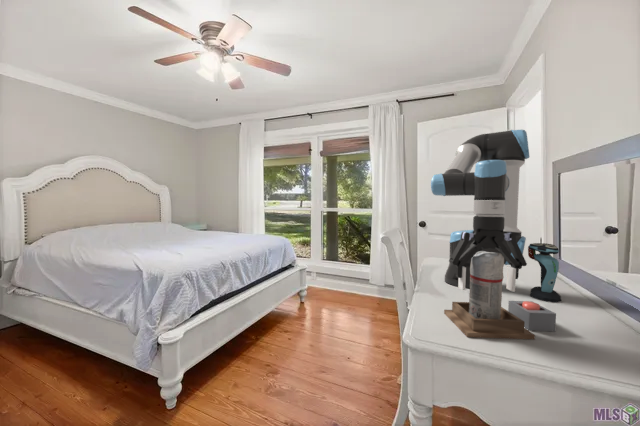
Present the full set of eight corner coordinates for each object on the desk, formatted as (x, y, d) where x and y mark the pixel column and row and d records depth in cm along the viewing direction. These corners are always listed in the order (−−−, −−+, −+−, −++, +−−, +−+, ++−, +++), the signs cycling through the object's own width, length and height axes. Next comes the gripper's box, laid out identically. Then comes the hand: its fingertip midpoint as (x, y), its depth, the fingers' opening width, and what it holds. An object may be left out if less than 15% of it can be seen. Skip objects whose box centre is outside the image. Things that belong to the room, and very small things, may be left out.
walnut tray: (444, 313, 86) (444, 300, 85) (499, 315, 85) (499, 301, 84) (467, 337, 71) (467, 321, 70) (534, 339, 70) (535, 323, 70)
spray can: (507, 329, 73) (510, 255, 72) (474, 326, 74) (476, 254, 73) (494, 316, 81) (496, 250, 80) (464, 313, 83) (466, 249, 82)
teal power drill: (543, 302, 96) (546, 246, 95) (518, 291, 107) (520, 241, 106) (568, 302, 96) (571, 246, 95) (540, 291, 108) (542, 241, 107)
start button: (518, 309, 81) (519, 301, 81) (532, 309, 81) (533, 301, 80) (528, 314, 77) (528, 306, 77) (543, 315, 77) (543, 306, 76)
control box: (508, 316, 84) (508, 300, 83) (531, 317, 83) (532, 301, 83) (528, 330, 75) (529, 312, 74) (555, 331, 74) (556, 313, 74)
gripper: (449, 215, 73) (446, 292, 74) (544, 216, 72) (541, 295, 73) (438, 214, 81) (436, 284, 82) (525, 215, 79) (522, 286, 80)
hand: (486, 289), depth 77 cm, fingers open, 13 cm apart
